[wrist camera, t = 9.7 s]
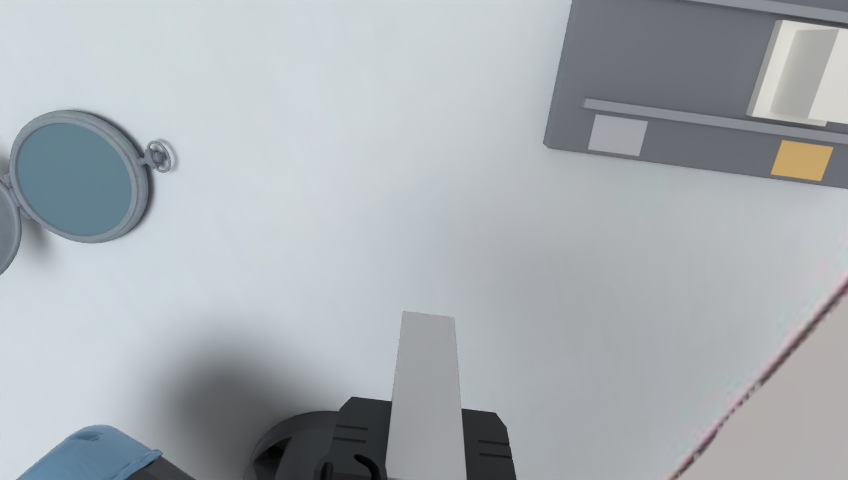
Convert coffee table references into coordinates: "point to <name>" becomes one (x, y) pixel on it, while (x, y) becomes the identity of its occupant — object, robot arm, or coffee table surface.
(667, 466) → the coffee table surface
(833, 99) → the switch tab
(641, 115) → the switch panel
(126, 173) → the pocket watch
